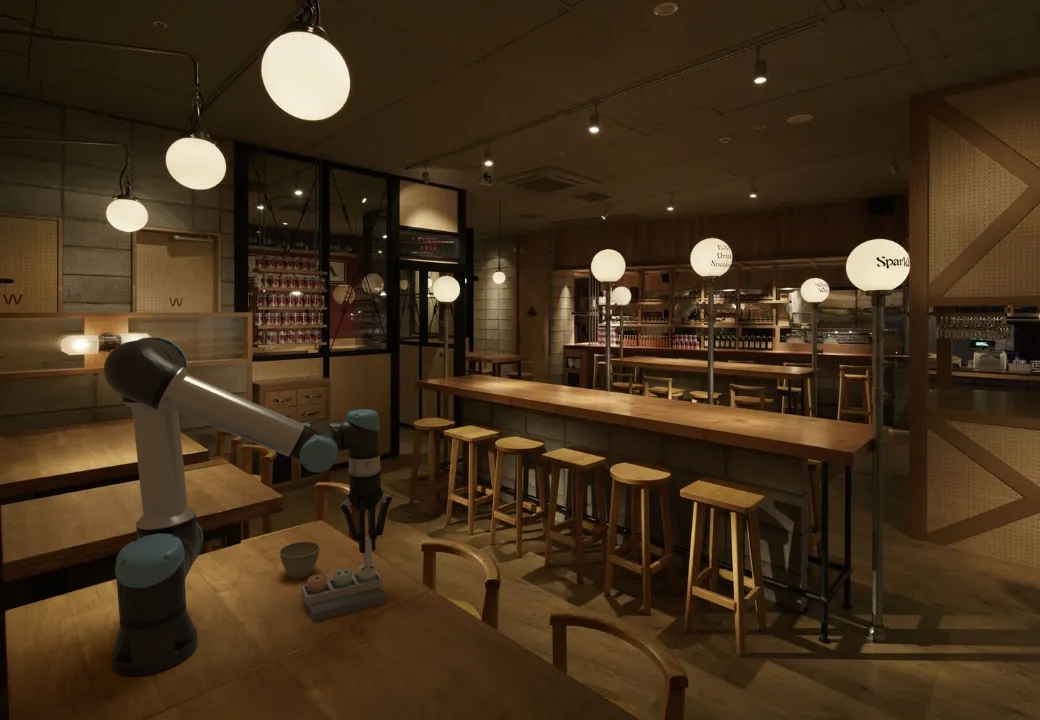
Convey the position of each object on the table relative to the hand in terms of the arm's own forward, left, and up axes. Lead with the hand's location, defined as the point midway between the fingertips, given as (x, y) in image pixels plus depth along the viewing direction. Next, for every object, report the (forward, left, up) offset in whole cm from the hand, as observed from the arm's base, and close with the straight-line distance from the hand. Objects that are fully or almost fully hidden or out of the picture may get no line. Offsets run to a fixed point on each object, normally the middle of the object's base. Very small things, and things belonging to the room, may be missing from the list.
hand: (367, 563), depth 145 cm
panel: (-6, 0, -7) cm, 10 cm away
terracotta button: (-12, 0, -3) cm, 13 cm away
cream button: (0, 0, -3) cm, 3 cm away
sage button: (-6, 0, -3) cm, 7 cm away
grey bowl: (-13, +18, -8) cm, 24 cm away
